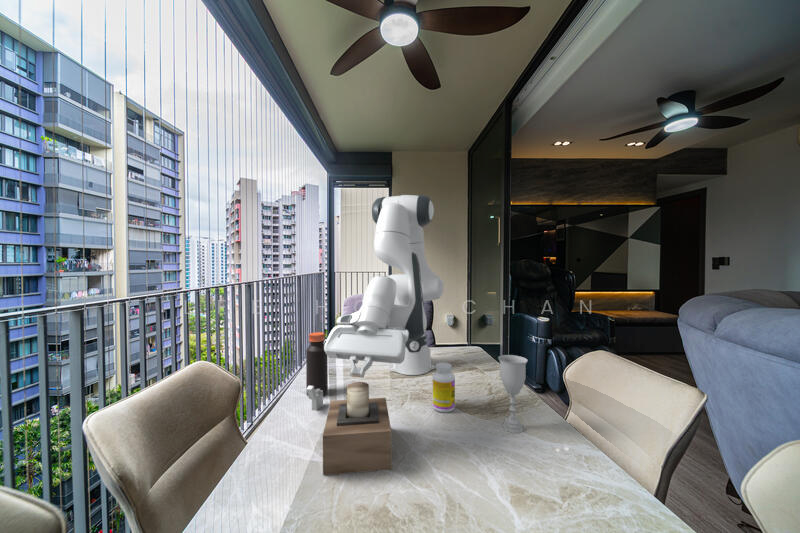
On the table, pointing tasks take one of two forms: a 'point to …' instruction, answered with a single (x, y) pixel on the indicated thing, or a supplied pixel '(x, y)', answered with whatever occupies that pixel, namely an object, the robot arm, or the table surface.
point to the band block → (357, 439)
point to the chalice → (512, 386)
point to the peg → (357, 400)
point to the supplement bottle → (443, 388)
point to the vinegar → (317, 363)
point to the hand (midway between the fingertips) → (356, 376)
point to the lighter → (315, 397)
